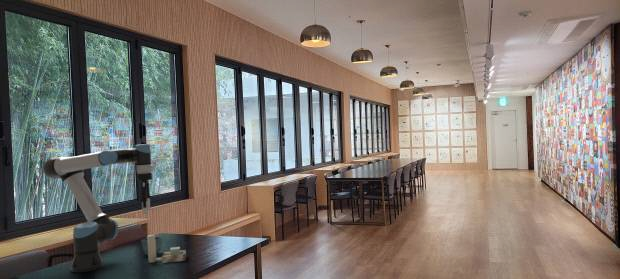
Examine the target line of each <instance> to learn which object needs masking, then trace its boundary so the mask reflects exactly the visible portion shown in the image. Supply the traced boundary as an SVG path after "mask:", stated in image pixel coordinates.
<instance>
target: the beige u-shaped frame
mask: <svg viewBox="0 0 620 279" xmlns="http://www.w3.org/2000/svg"><path fill="white" fill-rule="evenodd" d="M162 254H163V255H162V256H161V258H162V260H161V262H162V264H167V263H168V264H169V263H175V262H185V261H187V250H186V249H183V250H180V254H177V255H170V251H165V252H162Z"/></svg>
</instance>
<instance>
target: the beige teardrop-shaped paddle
mask: <svg viewBox="0 0 620 279" xmlns="http://www.w3.org/2000/svg"><path fill="white" fill-rule="evenodd" d="M155 237H156V235H154V234H150V235H147V237H146V238H147V240H148V255H147V260H148V263H149V264H150V263H156V262H157V261H162V257H157V254H156V243H155ZM169 248H170V249H169V252H170V255H177V254H180V251H181V247H180V246H173V247H169Z"/></svg>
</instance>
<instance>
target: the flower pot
mask: <svg viewBox="0 0 620 279" xmlns="http://www.w3.org/2000/svg"><path fill="white" fill-rule="evenodd" d="M140 242H141V247H142V250H143V252H144V254H145V255H147V256H148V240H147V237H146V238H144V239H140ZM155 243H156V255H157V254H159V253H160V251H161V248H162V245H163V244H162V243H163V236H155Z"/></svg>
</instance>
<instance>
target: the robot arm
mask: <svg viewBox="0 0 620 279" xmlns="http://www.w3.org/2000/svg"><path fill="white" fill-rule="evenodd" d="M151 157H152V152H151V145H150V144H148V143H146V144H145V143H144V144H135V147H134V148H118V149H104V150H102V151H97V152H93V153H92V152H91V153H86V154H80V155H77V156H73V155H67V156H60V157H57V156H56V157H51V158H48V159H47V160H45V162H44V163H43V166H42V171H43V173H44V175H45V176H46V177H47V178H51V179H54V180H55V179H61V182H62V183H63V184H64V185H67V186H68V188H69V190H70V191H71V193H72V195H73V198H75V200H76V202H77V204H78V206H79V208H80V210H81V211H82V213H83V215H84V217H85V218H86V220H87V222H81V223H78V224H77V225H75V226H74V227H73V233H72V237H73V238H72V239H73V253H74V254H73V259H72V262H71V265H70V271H71V272H72V273H87V272H88V273H89V272H92V271H97V270H99V269H102V268H103V267H104V262H103V261H104V260H103V258H102V257H101V253H100V250H99V248H100V247H99V245H101V244H104V243H108V242H110V241H112V240H114V239H115V238H116V237H117V235H118V234H119V229H120V228H119V224H118V222H117V221H116V219H115V220H114V219H112V218H110V217H109V215H108V214H107V213H104V212H103V210H102V209H101V207H100V206H99V203H98V202H97V200H96V198H95V196H94V194H93V192H92V191H91V188H89V185H88V184H87V182H86V180H85V178H84V176H85V170H87V169H93V168H98V167H104V166H110V165H116V164H117V165H119V164H126V163H128V164H129V163H136V173H137V174H136V180H137V181H139V182H141V183H140V190H141V191H140V192H141V199H140V200H139V201H140V203H141V208H142V210H141V211H142V215H149V211H151V198H152V196H151V194H150V182H149V181H150V180H152V179H153V173H152V168H153V166H152V158H151Z"/></svg>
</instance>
